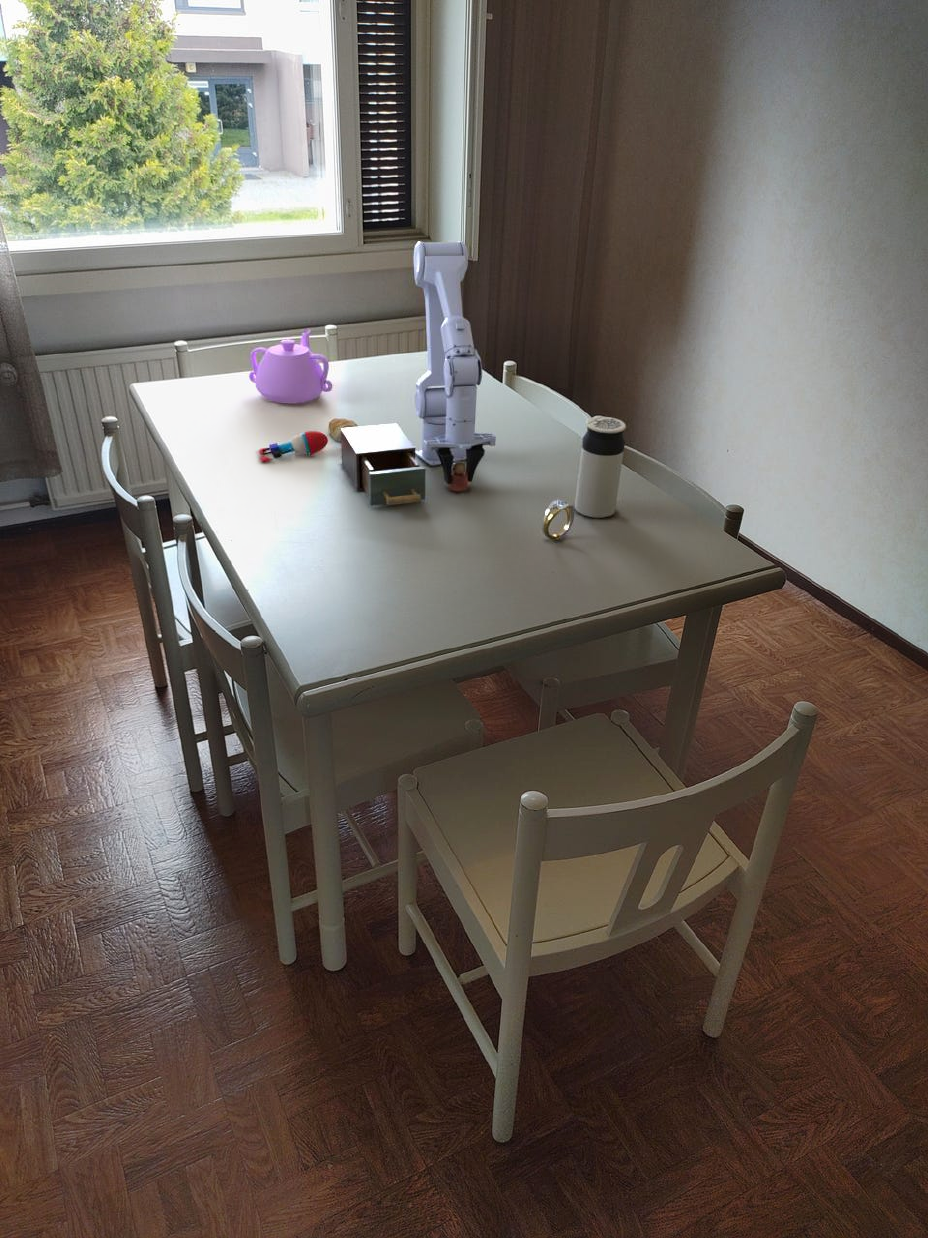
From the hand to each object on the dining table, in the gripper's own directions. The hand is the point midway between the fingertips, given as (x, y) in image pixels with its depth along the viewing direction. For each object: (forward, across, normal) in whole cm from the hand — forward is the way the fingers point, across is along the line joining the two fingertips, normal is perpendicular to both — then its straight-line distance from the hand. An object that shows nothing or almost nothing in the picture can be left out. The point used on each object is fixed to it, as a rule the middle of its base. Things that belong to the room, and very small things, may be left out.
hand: (458, 480), depth 185 cm
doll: (+1, 0, 0) cm, 1 cm away
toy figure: (+2, -29, +26) cm, 39 cm away
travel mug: (+2, +23, -16) cm, 28 cm away
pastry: (+2, -16, +34) cm, 38 cm away
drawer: (+1, -14, -1) cm, 14 cm away
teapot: (+2, -21, +64) cm, 68 cm away
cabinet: (+2, -14, +11) cm, 18 cm away
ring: (+2, +11, -25) cm, 28 cm away
